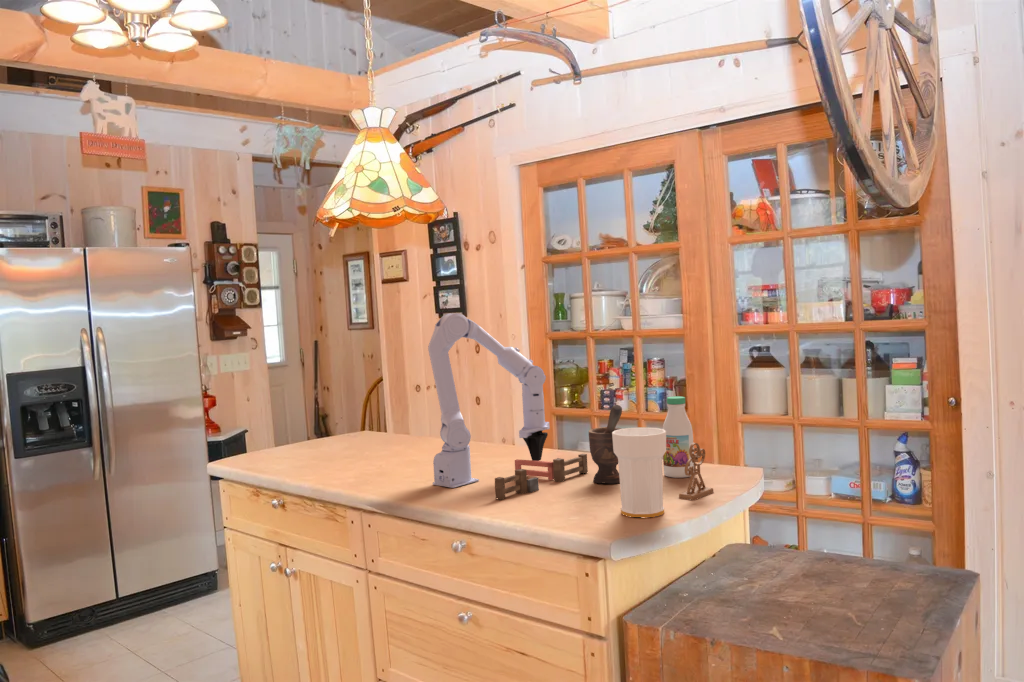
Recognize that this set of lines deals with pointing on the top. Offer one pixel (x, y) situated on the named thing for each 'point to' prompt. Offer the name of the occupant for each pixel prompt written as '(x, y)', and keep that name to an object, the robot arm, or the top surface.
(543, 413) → the robot arm
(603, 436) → the mortar and pestle
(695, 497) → the gingerbread man figurine
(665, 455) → the milk bottle
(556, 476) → the fence
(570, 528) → the top surface
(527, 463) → the gate
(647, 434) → the cup
